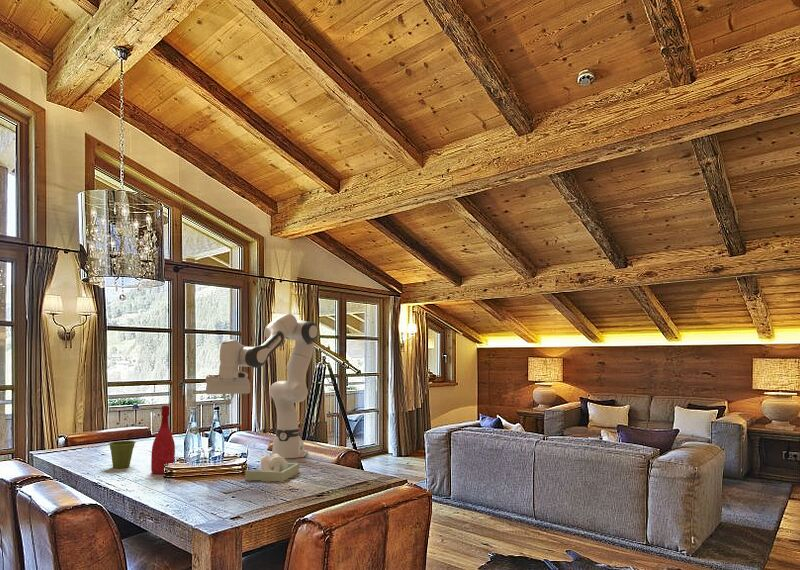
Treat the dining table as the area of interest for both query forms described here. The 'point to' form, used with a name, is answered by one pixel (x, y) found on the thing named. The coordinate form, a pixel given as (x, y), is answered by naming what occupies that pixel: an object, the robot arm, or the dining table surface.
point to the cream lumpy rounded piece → (273, 463)
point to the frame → (273, 474)
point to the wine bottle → (162, 445)
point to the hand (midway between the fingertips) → (227, 403)
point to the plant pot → (121, 453)
